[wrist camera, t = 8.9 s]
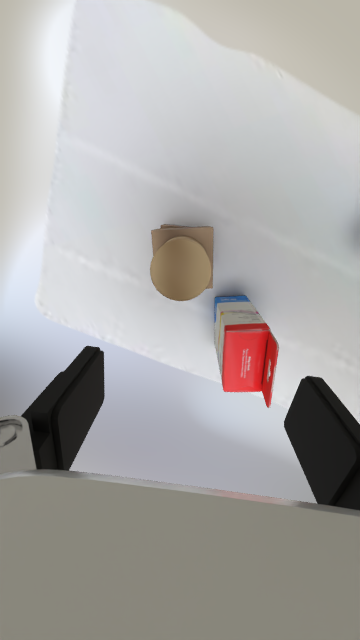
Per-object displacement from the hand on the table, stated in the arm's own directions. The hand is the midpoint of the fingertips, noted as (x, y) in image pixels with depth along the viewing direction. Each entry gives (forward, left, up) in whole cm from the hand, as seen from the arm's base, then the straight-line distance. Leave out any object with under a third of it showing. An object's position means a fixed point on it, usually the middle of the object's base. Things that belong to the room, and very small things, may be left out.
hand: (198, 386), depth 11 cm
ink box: (-7, +7, -25) cm, 27 cm away
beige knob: (+2, -3, -15) cm, 15 cm away
